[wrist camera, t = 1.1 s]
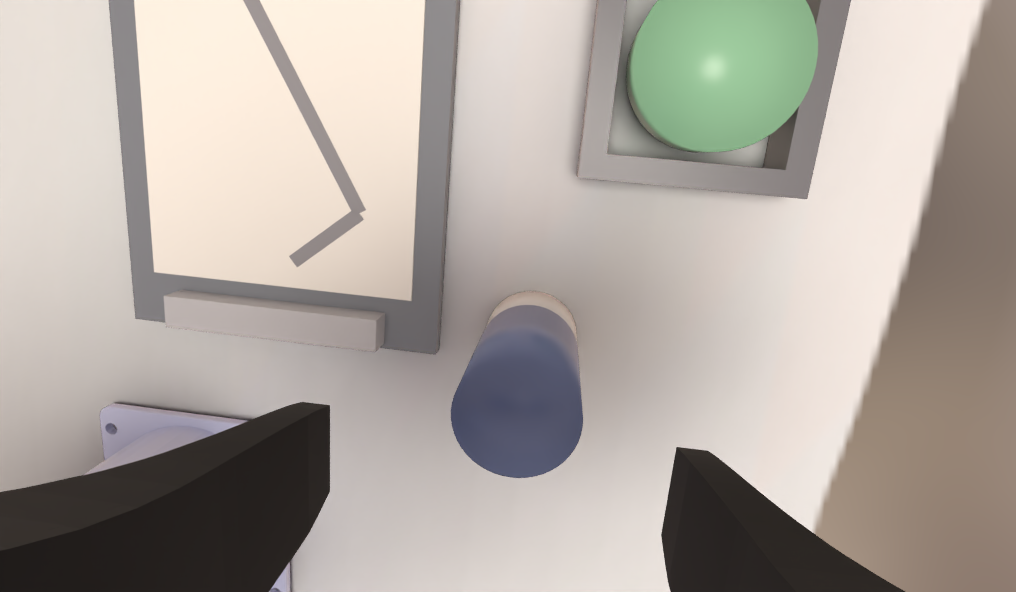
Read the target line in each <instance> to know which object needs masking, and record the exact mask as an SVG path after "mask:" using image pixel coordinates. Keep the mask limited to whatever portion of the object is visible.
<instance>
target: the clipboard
mask: <svg viewBox="0 0 1016 592" xmlns="http://www.w3.org/2000/svg"><path fill="white" fill-rule="evenodd" d="M459 8H460V0H109V10H110V22H111V34H112V46H113V58H114V69H115V81H116V93H117V105H118V117H119V129H120V141H121V153H122V164H123V176H124V188H125V200H126V212H127V224H128V236H129V247H130V259H131V271H132V283H133V295H134V307H135V319H142V320H151V321H159V322H165V324H166V327H169V328H177V329H186V330H194V331H202V332H211V333H219V334H227V335H236V336H244V337H253V338H261V339H269V340H278V341H286V342H294V343H303V344H311V345H320V346H328V347H336V348H345V349H353V350H362V351H370V352H376V351H377V350H378V349H379V348H387V349H395V350H404V351H412V352H420V353H429V354H436V353H437V351H438V350H439V342H440V325H441V308H442V292H443V275H444V258H445V242H446V225H447V208H448V192H449V175H450V158H451V142H452V125H453V108H454V92H455V75H456V58H457V42H458V25H459Z"/></svg>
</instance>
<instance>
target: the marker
mask: <svg viewBox="0 0 1016 592" xmlns="http://www.w3.org/2000/svg"><path fill="white" fill-rule="evenodd" d="M451 421H452V427H453V431H454V434H455V436H456V439H457V441H458V443H459V444H460V446H461V448H462V449H463V450H464V452H465V453H466V454H467V455H468V456H469V457H470V458H471V459H472V460H473V461H474V462H476V463H477V464H478V465H479V466H481V467H483V468H484V469H486V470H488V471H491V472H493V473H495V474H499V475H502V476H507V477H514V478H526V477H533V476H537V475H541V474H544V473H546V472H549V471H551V470H553V469H554V468H556V467H558V466H559V465H560V464H561V463H563V462H564V461H565V460H566V459H567V458H568V457H569V456H570V455H571V453H572V452H573V450H574V449H575V447H576V445H577V443H578V441H579V438H580V436H581V431H582V426H583V414H582V400H581V386H580V373H579V359H578V345H577V332H576V325H575V322H574V319H573V317H572V315H571V313H570V311H569V310H568V309H567V307H566V306H565V305H564V304H563V303H562V302H560V301H559V300H558V299H556V298H555V297H553V296H551V295H549V294H546V293H543V292H537V291H524V292H519V293H516V294H513V295H511V296H509V297H507V298H506V299H504V300H503V301H502V302H501V303H500V304H498V306H497V307H496V308H495V309H494V311H493V313H492V314H491V316H490V319H489V321H488V323H487V325H486V327H485V330H484V332H483V334H482V336H481V338H480V340H479V343H478V345H477V347H476V349H475V351H474V353H473V356H472V358H471V360H470V362H469V364H468V367H467V369H466V371H465V373H464V375H463V377H462V380H461V382H460V384H459V386H458V388H457V390H456V393H455V395H454V398H453V402H452V407H451Z"/></svg>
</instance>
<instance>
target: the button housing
mask: <svg viewBox="0 0 1016 592" xmlns="http://www.w3.org/2000/svg"><path fill="white" fill-rule="evenodd" d="M626 2H627V0H597V6H596V14H595V23H594V31H593V40H592V49H591V57H590V66H589V74H588V83H587V91H586V100H585V109H584V117H583V126H582V134H581V143H580V152H579V160H578V169H577V177H578V178H585V179H596V180H607V181H618V182H628V183H639V184H650V185H660V186H671V187H682V188H693V189H703V190H714V191H725V192H735V193H746V194H757V195H768V196H778V197H789V198H800V199H807V197H808V193H809V188H810V184H811V179H812V175H813V170H814V165H815V161H816V156H817V152H818V147H819V143H820V138H821V134H822V129H823V125H824V120H825V116H826V111H827V107H828V102H829V97H830V93H831V88H832V84H833V79H834V75H835V70H836V66H837V61H838V57H839V52H840V48H841V43H842V39H843V34H844V30H845V25H846V20H847V16H848V11H849V7H850V2H851V0H806V2H807V3H808V5H809V7H810V9H811V12H812V14H813V17H814V21H815V25H816V29H817V37H818V56H817V63H816V69H815V72H814V76H813V79H812V82H811V84H810V87H809V89H808V92H807V93H806V95H805V97H804V99H803V101H802V102H801V104H800V105H799V107H798V108H797V109H796V111H795V112H794V113H793V114H792V116H791V117H790V118H789V119H788V120H787V121H786V122H785V123H784V124H783V125H782V126H781V127H779V128H778V129H777V130H776V131H775V132H773V133H772V134H770V136H769V141H768V146H767V151H766V156H765V161H764V166H763V168H757V167H746V166H735V165H724V164H713V163H702V162H690V161H679V160H668V159H657V158H646V157H635V156H624V155H613V154H607V150H608V142H609V134H610V126H611V119H612V111H613V103H614V95H615V88H616V80H617V72H618V64H619V56H620V49H621V41H622V33H623V25H624V18H625V10H626Z"/></svg>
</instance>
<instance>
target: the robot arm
mask: <svg viewBox="0 0 1016 592" xmlns="http://www.w3.org/2000/svg"><path fill="white" fill-rule="evenodd" d="M100 422H101V432H102V441H103V451H104V460H105V461H103V462H102V463H100V464H99V465H97V466H96V467H94V468H93V469H91V470H90V471H88V472H87V473H85V474H84V475H82V476H77V477H73V478H68V479H64V480H59V481H54V482H50V483H45V484H41V485H36V486H31V487H27V488H21V489H16V490H10V491H4V492H0V592H290V560H291V559H292V558H293V556H294V555H295V553H296V552H297V550H298V549H299V547H300V546H301V544H302V543H303V541H304V540H305V538H306V537H307V535H308V534H309V532H310V530H311V528H312V526H313V524H314V522H315V520H316V518H317V516H318V515H319V513H320V510H321V508H322V506H323V504H324V502H325V500H326V498H327V496H328V494H329V492H330V405H322V404H314V403H305V402H300V403H296V404H293V405H289V406H286V407H284V408H281V409H278V410H275V411H273V412H270V413H267V414H265V415H262V416H260V417H257V418H255V419H252V420H250V421H246V420H238V419H231V418H223V417H215V416H208V415H200V414H192V413H185V412H177V411H169V410H162V409H154V408H147V407H139V406H131V405H124V404H116V403H115V404H110V405H108V406H106V407H105V408H103V409H102V410H101V412H100ZM113 424H114V425H115V426H116V427H117V429H116V428H115V427H114V426H113ZM661 536H662V543H663V551H664V558H665V565H666V571H667V578H668V583H669V587H670V591H671V592H905V591H903V590H901V589H900V588H898V587H896V586H894V585H893V584H891V583H889V582H887V581H886V580H884V579H882V578H881V577H879V576H877V575H876V574H874V573H873V572H871V571H869V570H868V569H866V568H864V567H863V566H861V565H860V564H858V563H857V562H855V561H853V560H852V559H850V558H849V557H847V556H845V555H844V554H842V553H841V552H839V551H838V550H836V549H835V548H833V547H832V546H830V545H829V544H828V543H826V542H825V541H823V540H822V539H820V538H819V537H818V536H816V535H815V534H814V533H812V532H811V531H809V530H808V529H807V528H805V527H804V526H803V525H801V524H800V523H798V522H797V521H796V520H794V519H793V518H792V517H790V516H789V515H788V514H787V513H785V512H784V511H783V510H781V509H780V508H779V507H778V506H776V505H775V504H774V503H773V502H771V501H770V500H769V499H768V498H766V497H765V496H764V495H763V494H761V493H760V492H759V491H758V490H756V489H755V488H754V487H753V486H752V485H750V484H749V483H748V482H747V481H746V480H744V479H743V478H742V477H741V476H740V475H738V474H737V473H736V472H735V471H733V470H732V469H731V468H730V467H729V466H727V465H726V464H725V463H724V462H722V461H721V460H720V459H719V458H717V457H716V456H715V455H713V454H712V453H710V452H709V451H704V450H696V449H688V448H680V447H677V448H676V454H675V460H674V465H673V471H672V477H671V483H670V488H669V494H668V500H667V506H666V511H665V517H664V523H663V529H662V534H661ZM275 588H277V589H279V590H280V591H278V590H276V589H275Z"/></svg>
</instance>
